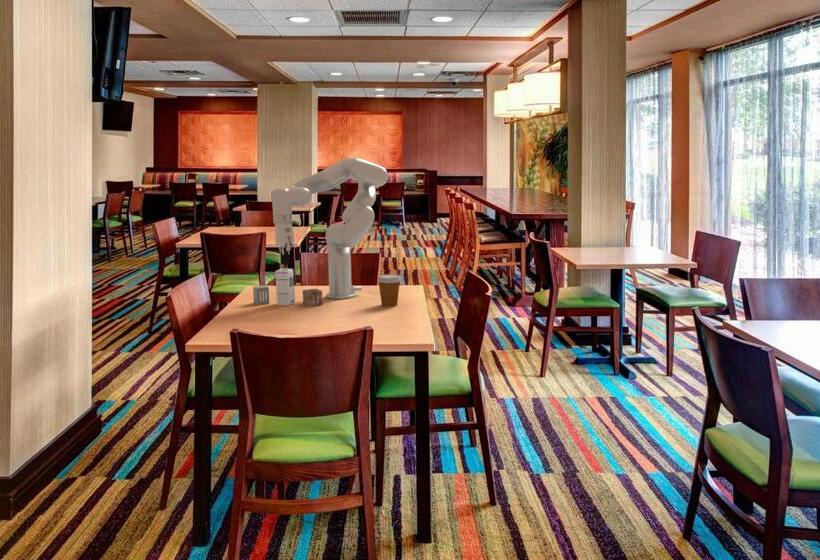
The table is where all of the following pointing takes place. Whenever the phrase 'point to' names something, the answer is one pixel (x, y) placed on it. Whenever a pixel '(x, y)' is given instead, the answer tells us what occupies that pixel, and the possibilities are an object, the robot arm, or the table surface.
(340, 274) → the robot arm
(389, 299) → the disposable coffee cup
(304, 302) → the walnut cube
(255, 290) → the slate block
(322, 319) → the table surface
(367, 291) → the table surface
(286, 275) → the syrup box
